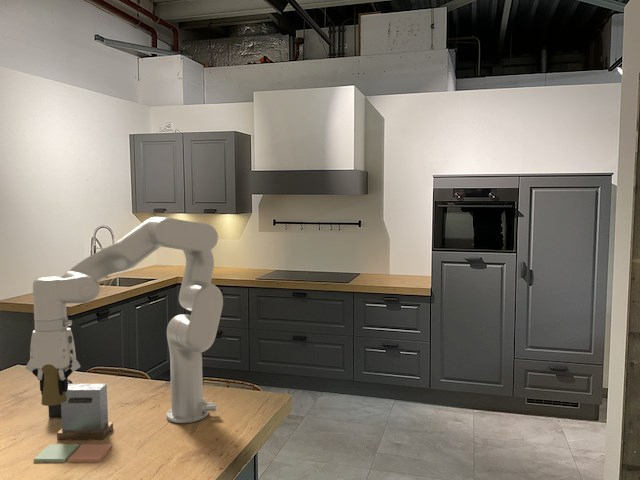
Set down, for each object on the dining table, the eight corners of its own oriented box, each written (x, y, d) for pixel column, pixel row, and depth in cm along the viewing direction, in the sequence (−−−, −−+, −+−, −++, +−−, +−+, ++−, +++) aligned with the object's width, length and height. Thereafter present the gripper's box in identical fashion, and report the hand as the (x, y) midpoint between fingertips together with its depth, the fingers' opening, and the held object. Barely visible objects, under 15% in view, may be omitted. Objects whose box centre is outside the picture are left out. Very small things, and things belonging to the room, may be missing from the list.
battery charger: (75, 413, 170) (74, 377, 169) (70, 418, 166) (69, 382, 165) (53, 413, 170) (51, 378, 169) (47, 418, 166) (45, 382, 165)
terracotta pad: (111, 447, 147) (111, 444, 147) (99, 461, 139) (99, 458, 139) (82, 447, 147) (82, 444, 147) (68, 461, 139) (68, 458, 139)
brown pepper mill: (38, 401, 142) (35, 360, 141) (62, 395, 146) (60, 355, 145) (45, 407, 137) (43, 365, 136) (70, 401, 142) (68, 360, 141)
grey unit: (113, 428, 158) (111, 382, 157) (103, 439, 151) (101, 391, 150) (68, 429, 158) (66, 382, 157) (57, 439, 151) (55, 391, 150)
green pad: (78, 447, 147) (78, 444, 147) (64, 461, 139) (64, 458, 139) (49, 447, 147) (49, 444, 147) (33, 462, 139) (33, 459, 139)
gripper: (89, 321, 144) (92, 388, 145) (26, 321, 144) (30, 388, 145) (76, 328, 136) (79, 398, 138) (10, 328, 136) (14, 399, 138)
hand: (54, 392), depth 142 cm, fingers closed on brown pepper mill, 3 cm apart
